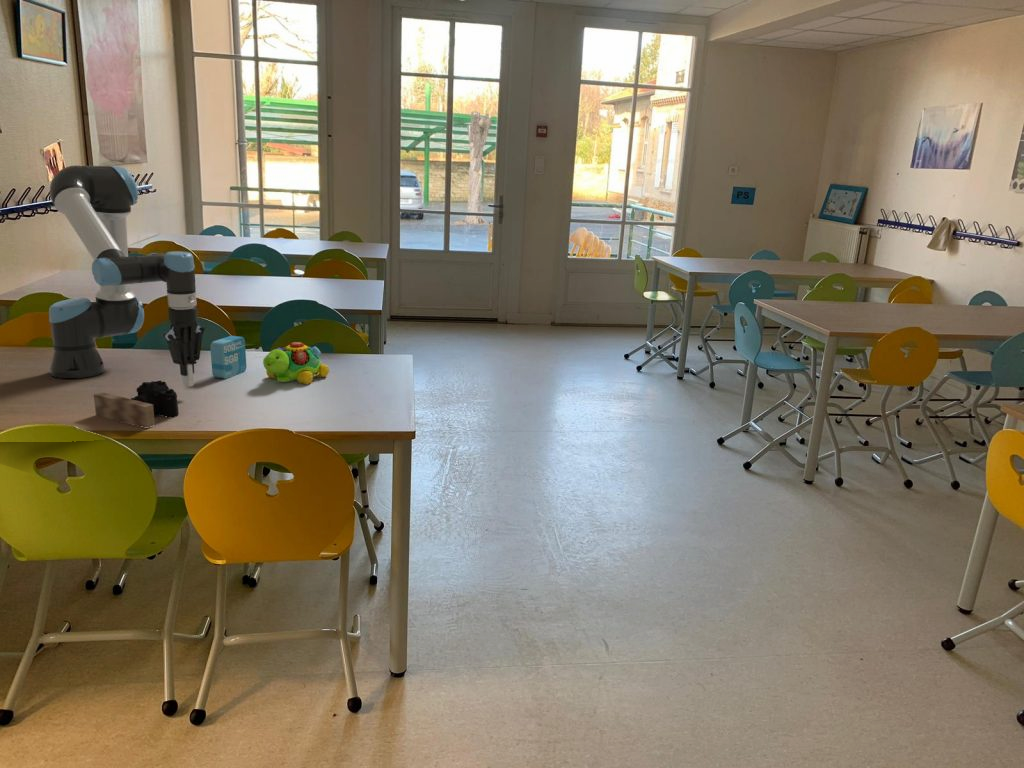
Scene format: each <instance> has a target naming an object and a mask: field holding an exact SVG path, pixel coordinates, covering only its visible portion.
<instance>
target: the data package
mask: <svg viewBox="0 0 1024 768" xmlns="http://www.w3.org/2000/svg"><path fill="white" fill-rule="evenodd" d="M210 343H211V344H210V345H209V347H210V359H211V371H212V372H211V373H212V376H213V378H218V379H226V380H227V379H229V378H232V377H234V375H235V376H237V375H240V374H242V373H244V372H245V371H246V370H247V353H246V340H245V338H244V337H243V336H236V335H230V336H225V337H223V338H219V339H217V340H214V341H212V342H210ZM241 372H242V373H241ZM239 373H240V374H239Z"/></svg>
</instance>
